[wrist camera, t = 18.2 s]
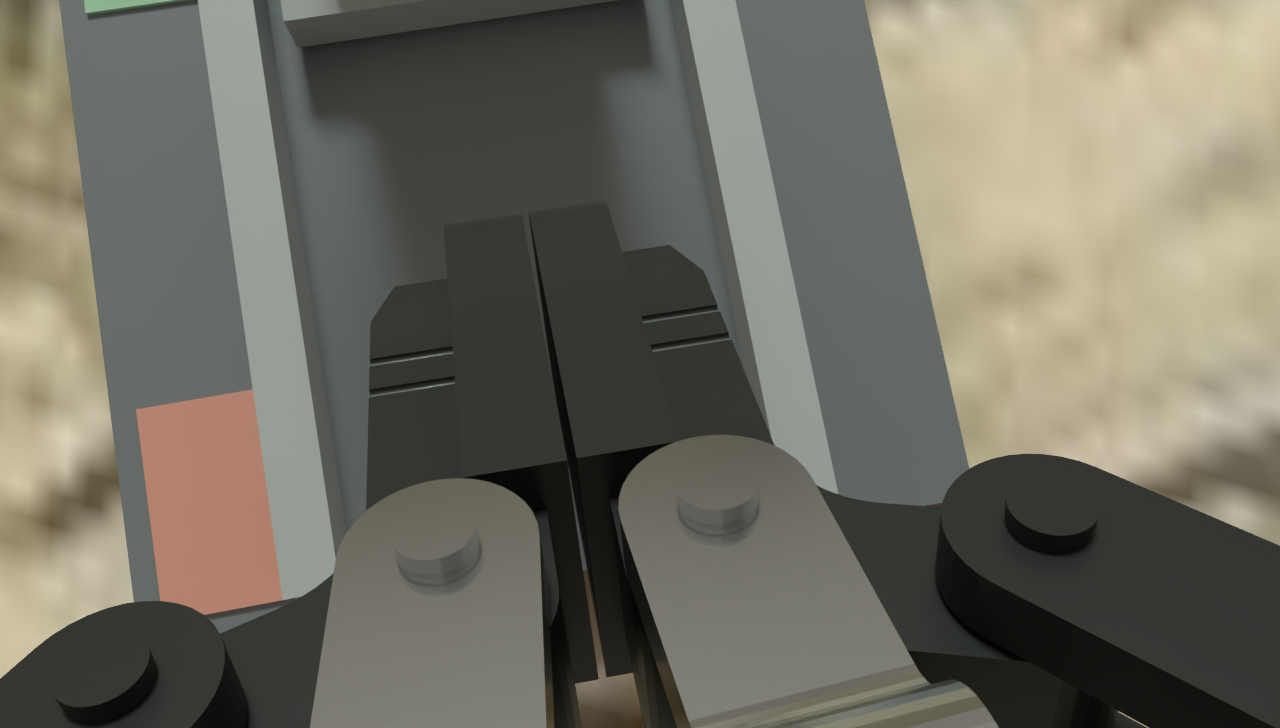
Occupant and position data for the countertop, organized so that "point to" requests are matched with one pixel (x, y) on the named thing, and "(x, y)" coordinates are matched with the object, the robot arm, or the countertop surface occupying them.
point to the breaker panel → (459, 192)
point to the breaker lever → (398, 16)
